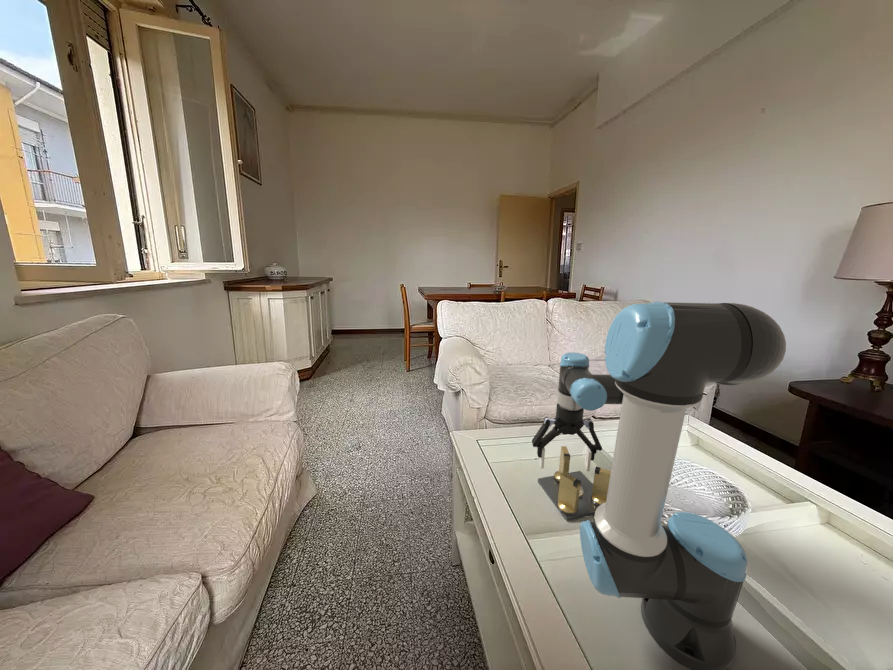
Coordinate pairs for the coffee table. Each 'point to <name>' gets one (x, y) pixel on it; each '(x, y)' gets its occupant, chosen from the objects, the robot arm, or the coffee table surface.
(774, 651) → the coffee table surface
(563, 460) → the far knob
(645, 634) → the coffee table surface
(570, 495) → the front knob
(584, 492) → the plate
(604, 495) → the side knob
